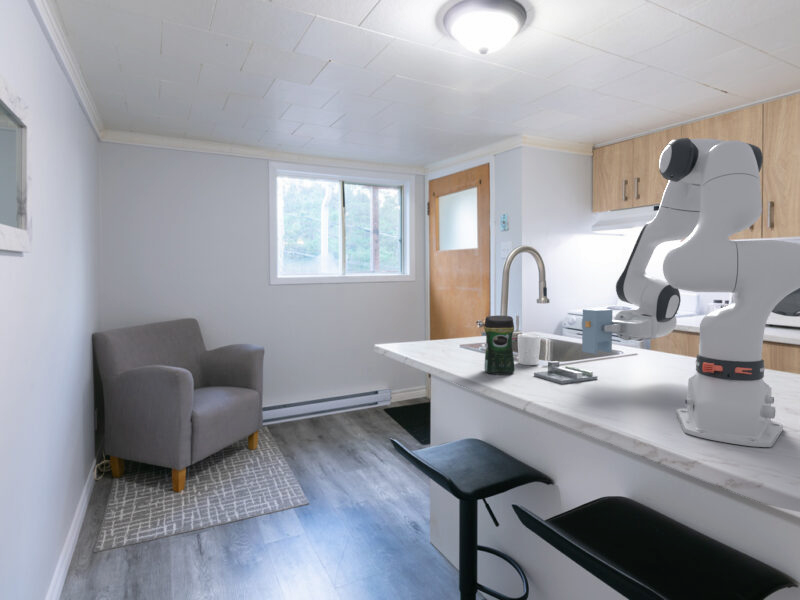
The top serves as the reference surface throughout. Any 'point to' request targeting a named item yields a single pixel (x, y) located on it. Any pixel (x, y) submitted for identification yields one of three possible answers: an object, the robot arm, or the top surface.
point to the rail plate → (564, 379)
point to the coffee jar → (499, 344)
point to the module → (596, 331)
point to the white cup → (529, 349)
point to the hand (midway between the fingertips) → (594, 327)
